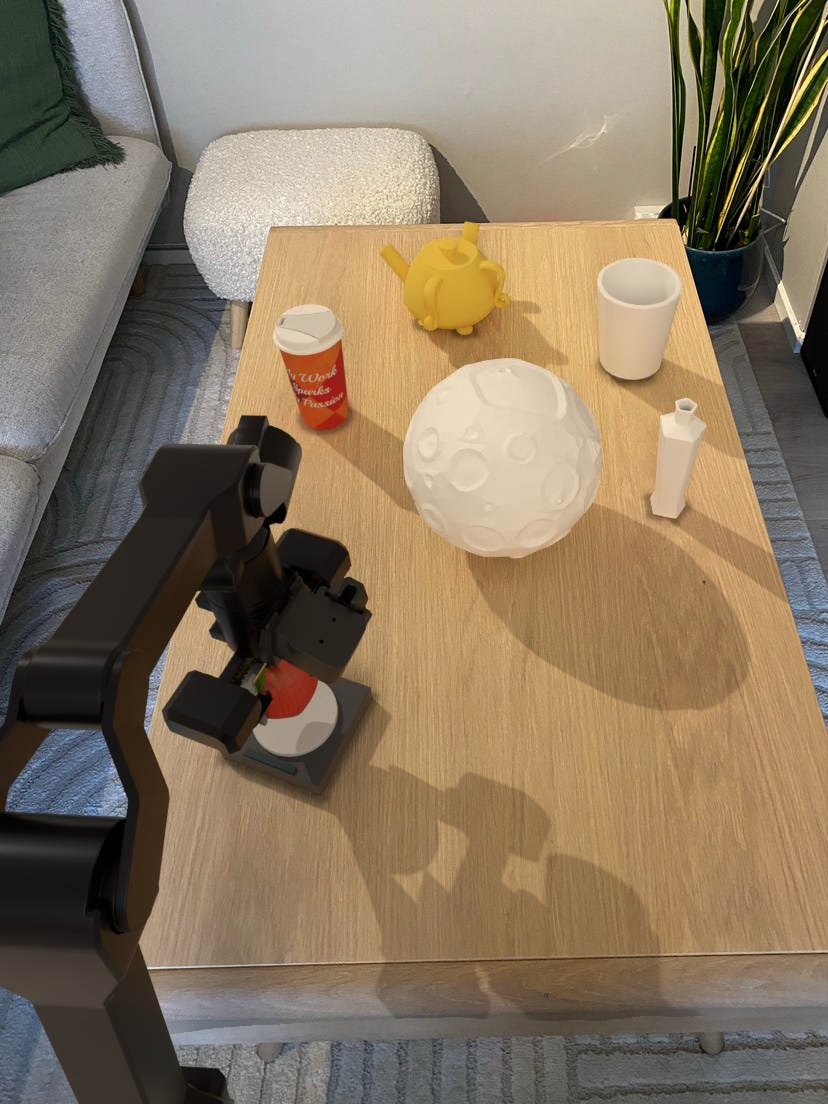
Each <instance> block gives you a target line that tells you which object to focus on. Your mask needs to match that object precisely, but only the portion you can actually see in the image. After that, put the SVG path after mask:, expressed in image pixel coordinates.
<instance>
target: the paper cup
mask: <svg viewBox="0 0 828 1104" xmlns="http://www.w3.org/2000/svg"><path fill="white" fill-rule="evenodd" d="M344 333H345V327H344V326H343V324H342V322H341V320H340V319H339V318H338V317H337V316H336V314H335V313H334V312H333V311H332V310H331V309H330V308H328V307H326V306H325V305H322V304H321V305H320V304H314V303H313V304H311V303H307V304H300V305H297V306H294V307H291V308H289V309H287V310H286V311H284V312H283V313H282V314H281V315H280V317H279V318H278V320H277V322H276V326H275V327H274V330H273V334H272V338H273V339H272V341H273V342H274V344H275V346H276V347H277V348H278V349H279V352H280V355H281V358H282V361H283V364H284V367H285V370H286V373H287V376H288V379H289V383H290V386H291V389H292V391H293V394H294V397H295V401H296V403H297V407H298V409H299V413H300V415H301V419H302V420H303V422H304V424H305V425H306V426H307V427H309V428H310V429H313V430H317V431H327V430H332V429H335V428H337V427H339V426H340V425H342V424H343V423H344V422H345V421H346V420H347V418H348V415H349V400H348V389H347V381H346V371H345V362H344V351H343V345H342V344H343V343H342V338H343V335H344Z"/></svg>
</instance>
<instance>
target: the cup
mask: <svg viewBox="0 0 828 1104" xmlns="http://www.w3.org/2000/svg"><path fill="white" fill-rule="evenodd" d="M596 282H597V283H596V285H597V286H596V287H597V311H598V312H597V315H598V317H597V318H598V341H599V343H598V344H599V361H600V362H599V363H600V366H601V367H602V368H603V369H604V371H606V372H607V373H608V374H610V375H611V376H612V377H613V378H614V379H615V380H616V381H617V382H621V383H622V382H627V381H635V380H636V381H637V380H640V381H648V380H650V379H651V378H652V377H653V376H654V375H655V374H656V373H657V372H658V370H660V368H661V365H662V362H663V359H664V354H665V352H666V347H667V344H668V341H669V338H670V334H671V330H672V326H673V323H674V319H675V316H676V312H677V309H678V305H679V302H680V299H681V295H682V292H683V289H684V288H683V287H684V286H683V285H684V284H683V280H682V278H681V276H680V273H678V272H677V270H675V268H673V267H672V266H670V265H668V264H666V263H664V262H661V261H658V260H656V259H651V258H647V257H646V258H645V257H629V258H622V259H619V260H616V261H613V262H611V263H609V264H608V265H605V266H604V267H603V268H602V269H600V271H599V273H598V275H597V280H596Z"/></svg>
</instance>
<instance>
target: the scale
mask: <svg viewBox="0 0 828 1104" xmlns="http://www.w3.org/2000/svg"><path fill="white" fill-rule="evenodd" d="M373 698H374V696H373V692H372V689H371V687H370V686H368V685H366V684H362V683H360V682H357V681H353V680H351V679H348V678H346V677H343V676H341V677H340V679H339V680H338V681H337V682H335V683H332V684H326V683H323V682H321V681H319V680H318V684H317V688H316V691H315V693H314V695H313V697H312V699H311V701H310V702H309V704H308V705H307V706H306V708H305V709H304V711H303V712H302V713H301V714H300V715H298V716H295V717H290V718H284V719H268V723H267V724H266V726H263V725H261V724H258V725H257V726H256V727H255V728H254V729H253V731H252V732H251V734H250V736H249V737H248V739H247V741H246V742H245V744H244V746H243V747H242V749H241V751H238V752H236V753H233V754H231V755H229V754H226V753H224V752H221V751H219V753H220V754H221V756H222V758H224V759H227V760H229V761H232V762H234V763H237V764H239V765H242V766H244V767H247V768H248V769H251V770H255V771H257V772H258V773H262V774H264V775H266V776H269V777H272V778H275V779H277V780H279V781H282V782H284V783H286V784H289V785H292V786H295V787H298V788H300V789H301V790H305V791H307V792H310V793H313V794H315V795H317V796H320V797H323V795H324V793H325V791H326V790H327V787H328V785H329V784H330V781H331V780H332V778H333V776H334V773H335V772H336V770H337V768H338V766H339V764H340V763H341V761H342V759H343V756H344V754H345V753H346V751H347V749H348V747H349V745H350V743H351V741H352V739H353V738H354V735H355V734H356V731H357V729H358V727H359V726H360V723H361V722H362V719H363V718H364V716H365V714H366V712H367V710H368V708H369V707H370V704H371V703H372V700H373Z"/></svg>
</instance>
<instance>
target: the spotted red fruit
mask: <svg viewBox="0 0 828 1104" xmlns="http://www.w3.org/2000/svg"><path fill="white" fill-rule="evenodd" d="M252 666H253V665H252ZM244 679H245V678H244ZM317 684H318V679H317V678H316V677H314V676H312V675H310V674H308V673H306V672H305V671H303V670H301V669H299V668H297V667H295V666H293V665H291V664H290V663H288V662H287V661H285V660H281V662H280V663H279V665H278V667H274V666H272V665H269V664H266V665H265V667H264V669H263V670H262V672H261V673H260V675H259V677H258V678H257V680H256V681H255V683H254V685H255V686H256V688H257V692H258V693H260V694H263V695H266V696H268V697H271V698H273V700H272V702H271V704H270V705H269V707H268V709H267V710H266V713H267V718H268V719H284V718H290V717H295V716H298V715H300V714H301V713H302V712H303V711H304V709H305V708H306V706H307V705H308V704H309V702H310V701H311V699H312V697H313V695H314V693H315V691H316V688H317Z"/></svg>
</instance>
